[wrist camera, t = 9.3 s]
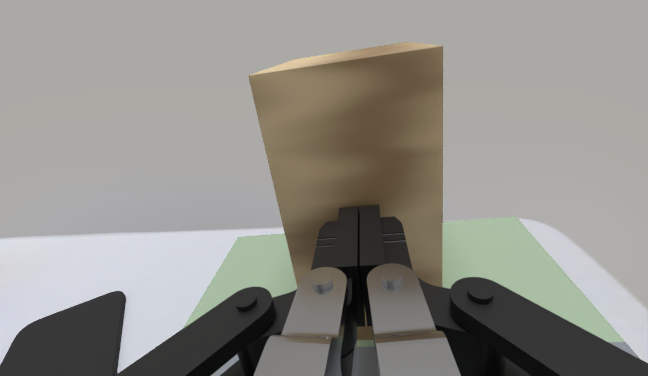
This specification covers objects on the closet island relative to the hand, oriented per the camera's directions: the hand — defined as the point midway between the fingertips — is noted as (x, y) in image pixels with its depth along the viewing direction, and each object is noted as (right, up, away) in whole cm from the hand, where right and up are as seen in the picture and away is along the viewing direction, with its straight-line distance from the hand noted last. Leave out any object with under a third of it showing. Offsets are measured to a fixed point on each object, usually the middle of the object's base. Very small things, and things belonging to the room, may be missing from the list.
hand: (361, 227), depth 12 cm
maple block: (+1, -4, +6) cm, 7 cm away
